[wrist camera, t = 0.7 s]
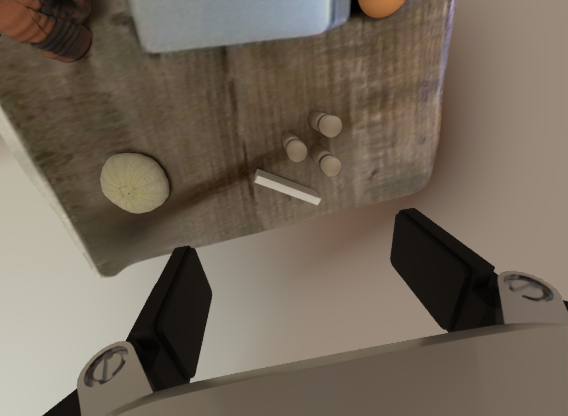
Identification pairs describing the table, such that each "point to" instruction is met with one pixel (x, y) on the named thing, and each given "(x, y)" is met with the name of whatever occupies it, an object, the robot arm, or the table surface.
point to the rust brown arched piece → (48, 26)
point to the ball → (379, 7)
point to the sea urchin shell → (134, 182)
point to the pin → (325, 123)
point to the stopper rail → (286, 186)
